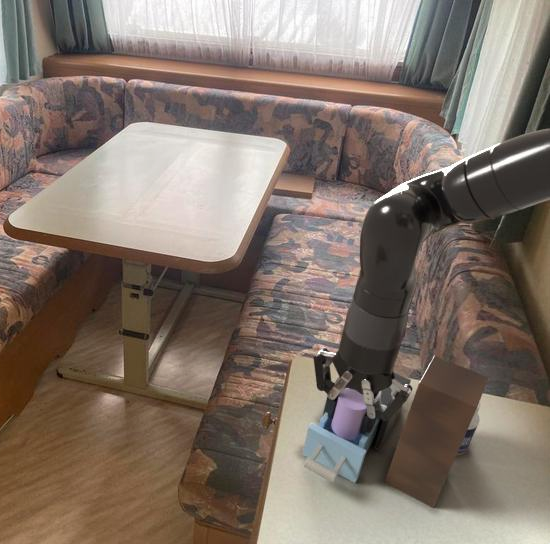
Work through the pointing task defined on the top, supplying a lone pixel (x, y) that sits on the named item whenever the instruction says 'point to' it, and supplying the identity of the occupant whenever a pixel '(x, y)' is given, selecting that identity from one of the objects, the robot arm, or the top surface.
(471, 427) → the pill bottle
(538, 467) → the top surface
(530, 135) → the robot arm
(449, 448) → the stand
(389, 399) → the cabinet
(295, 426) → the top surface
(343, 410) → the purple cylinder
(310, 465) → the drawer
